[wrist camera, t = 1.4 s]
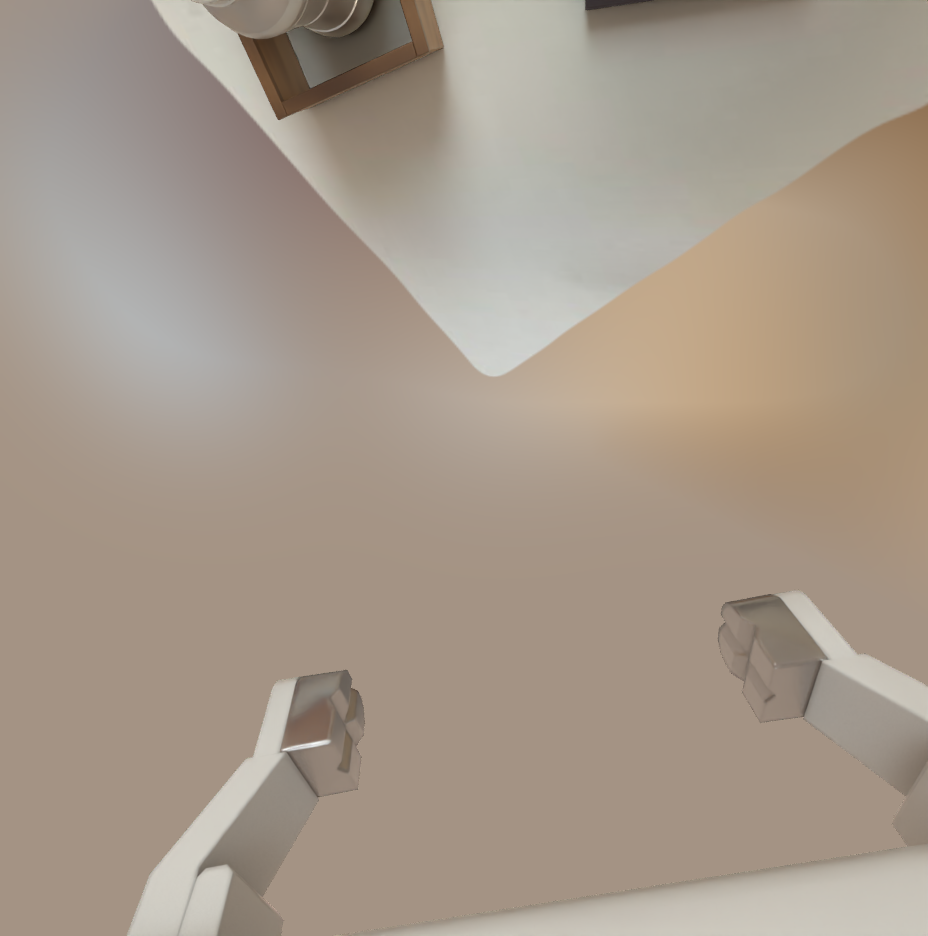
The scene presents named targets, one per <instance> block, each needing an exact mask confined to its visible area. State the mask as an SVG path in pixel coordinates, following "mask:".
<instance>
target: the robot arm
mask: <svg viewBox="0 0 928 936" xmlns="http://www.w3.org/2000/svg"><path fill="white" fill-rule="evenodd" d="M721 616H722V617H723V619H724V621H725V623H724V624H723V625H722V626H721V627H720V628H719V632H718V642H719V647H720V652H721V654H722V656H723V659H724V661H725V664H726V665H727V667H728V669H729V671H730V672H731V674H733V675H735V676H736V677H738V678H740V679H741V680H743V681H744V685H743V691H742V693H743V695H744V696H745V698H746V700H747V701H748V703H749V705H750V706H751V708H752V710H753V712H754V713H755V715H756V717H757V718H758V720H759V722H760V723H762V722H769V721H776V720H784V719H791V718H798V717H804V718H803V719H804V720H805V721H806V722H808V723H809V724H810V725H812V726H813V727H815V728H816V729H817V730H819V731H820V732H821V733H822V734H824V735H825V736H826V737H828V738H829V739H830V740H832V741H833V742H834V743H836V744H837V745H838V746H840V747H841V748H842V749H844V750H845V751H846V752H848V753H849V754H850V755H852V756H853V757H854V758H856V759H857V760H858V761H860V762H861V763H862V764H863V765H865V766H866V767H868V768H869V769H870V770H871V771H873V772H874V773H875V774H877V775H878V776H879V777H881V778H882V779H883V780H885V781H886V782H887V783H889V784H890V785H891V786H893V787H894V788H895V789H897V790H898V791H899V792H901V793H902V794H904V795H905V796H906V798H905V799H904V801H903V802H902V804H901V806H900V807H899V809H898V811H897V812H896V814H895V816H894V820H893V823H892V824H893V826H894V827H895V829H896V830H897V832H898V833H899V835H900V836H901V838H902V839H903V841H904V842H905V843H906V845H907V846H908V847H901V848H895V849H889V850H882V851H876V852H869V853H863V854H856V855H850V856H844V857H837V858H831V859H824V860H819V861H811V862H806V863H799V864H792V865H786V866H780V867H773V868H766V869H760V870H754V871H748V872H741V873H734V874H728V875H721V876H715V877H709V878H702V879H696V880H690V881H683V882H676V883H670V884H663V885H657V886H650V887H644V888H638V889H631V890H625V891H618V892H612V893H606V894H599V895H594V896H586V897H580V898H573V899H567V900H560V901H554V902H548V903H541V904H535V905H529V906H522V907H515V908H509V909H502V910H496V911H490V912H483V913H477V914H471V915H464V916H458V917H452V918H445V919H438V920H432V921H426V922H419V923H414V924H407V925H400V926H393V927H387V928H381V929H374V930H368V931H361V932H355V933H348V934H342V935H336V936H928V686H927V685H926V684H924V683H922V682H920V681H918V680H916V679H914V678H912V677H910V676H908V675H906V674H904V673H903V672H900V671H899V670H897V669H895V668H893V667H891V666H889V665H887V664H885V663H883V662H881V661H879V660H877V659H875V658H873V657H871V656H869V655H867V654H857V653H856V652H855V651H854V650H853V648H852V647H851V646H850V645H849V644H848V643H847V641H846V640H845V639H844V638H843V637H842V636H841V635H840V633H839V632H838V631H837V630H836V629H835V628H834V626H833V625H831V623H830V622H829V621H828V620H827V618H826V617H825V616H824V615H823V614H822V613H821V612H820V610H819V609H818V608H817V607H816V606H815V605H814V603H813V602H812V601H811V600H810V599H809V598H808V597H807V595H806V594H805V593H803V592H801V591H800V590H794V591H789V592H783V593H778V594H773V595H772V594H768V595H763V596H758V597H752V598H747V599H743V600H737V601H731V602H727V603H725V604H724V605H723V606H722V611H721ZM351 684H352V678H351V676H350V674H349V672H348V670H343V671H336V672H329V673H323V674H317V675H310V676H303V677H296V678H291V679H284V680H278V681H277V682H276V684H275V685H274V687H273V688H272V691H271V695H270V698H269V702H268V705H267V709H266V713H265V716H264V720H263V723H262V727H261V730H260V734H259V738H258V741H257V745H256V749H255V752H254V756H253V757H251V758H247V759H246V760H245V761H244V762H243V763H242V765H240V767H239V768H238V769H237V770H236V771H235V773H234V774H233V775H232V776H231V777H230V779H229V780H228V781H227V782H226V783H225V785H224V786H223V787H222V788H221V789H220V791H219V792H218V793H217V794H216V795H215V797H214V798H213V799H212V800H211V801H210V803H209V804H208V805H207V806H206V808H205V809H204V810H203V811H202V812H201V814H200V815H199V816H198V817H197V818H196V819H195V821H194V822H193V823H192V824H191V826H190V827H189V828H188V829H187V830H186V831H185V833H184V834H183V835H182V836H181V837H180V839H179V840H178V841H177V842H176V843H175V845H174V846H173V847H172V848H171V849H170V851H169V852H168V853H167V854H166V856H165V857H164V858H163V859H162V860H161V861H160V863H159V864H158V865H157V866H156V867H155V869H154V870H153V871H152V872H151V874H150V875H149V878H148V880H147V883H146V886H145V888H144V891H143V894H142V897H141V899H140V902H139V904H138V907H137V910H136V912H135V915H134V918H133V920H132V923H131V926H130V928H129V931H128V933H127V936H281V931H282V925H283V919H282V917H281V915H280V914H279V913H278V912H277V911H276V910H275V909H274V908H273V907H272V906H271V905H270V904H269V903H268V902H267V901H266V900H265V899H264V898H263V895H264V894H265V892H266V890H267V888H268V887H269V885H270V883H271V882H272V880H273V878H274V876H275V875H276V873H277V871H278V869H279V868H280V866H281V864H282V863H283V861H284V859H285V857H286V856H287V854H288V852H289V851H290V849H291V847H292V845H293V844H294V842H295V840H296V839H297V837H298V835H299V833H300V832H301V830H302V828H303V826H304V825H305V823H306V821H307V820H308V818H309V816H310V814H311V813H312V811H313V809H314V807H315V806H316V804H317V802H318V801H319V799H318V797H322V796H327V795H333V794H338V793H343V792H348V791H353V790H358V785H359V775H360V765H361V755H360V753H359V751H358V749H357V747H356V746H357V744H358V743H359V741H360V740H361V738H362V737H363V735H364V724H365V720H364V707H363V703H362V699H361V696H360V694H359V692H358V691H357V690H355V689H352V688H351Z"/></svg>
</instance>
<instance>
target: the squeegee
mask: <svg viewBox="0 0 928 936" xmlns="http://www.w3.org/2000/svg"><path fill="white" fill-rule="evenodd" d="M645 1H652V0H586V5H585V9H586V10H591V9H598V8H604V7H611V6H618V5H625V4H632V3H638V2H645Z"/></svg>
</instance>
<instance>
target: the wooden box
mask: <svg viewBox="0 0 928 936" xmlns="http://www.w3.org/2000/svg"><path fill="white" fill-rule="evenodd" d="M400 2H401V6H402V9H403V12H404V15H405V18H406V22H407V25H408V28H409V31H410V35H411V38H412V42H410V43H407V44H405V45H403V46H401V47H399V48H397V49H395V50H392V51H390V52H388V53H386V54H384V55H382V56H380V57H377V58H375V59H373V60H371V61H369V62H367V63H364V64H362V65H360V66H358V67H356V68H354V69H352V70H349V71H347V72H345V73H343V74H341V75H339V76H337V77H334V78H332V79H330V80H328V81H326V82H324V83H322V84H319V85H317V86H315V87H313V88H311V89H310V88H309V86H308V83H307V81H306V79H305V76H304V74H303V72H302V69H301V67H300V65H299V62H298V60H297V57H296V55H295V53H294V50H293V48H292V46H291V43H290V41H289V39H288V36H287V34H286V33H284V34H281V35H278V36H276V37H272V38H267V39H254V38H249V37H245V36H243V35H241V34H239V33H238V35H239V37H240V40H241V42H242V44H243V46H244V48H245V50H246V52H247V55H248V57H249V59H250V61H251V63H252V65H253V67H254V70H255V72H256V74H257V76H258V78H259V80H260V82H261V85H262V87H263V89H264V91H265V93H266V95H267V97H268V99H269V102H270V104H271V106H272V108H273V110H274V112H275V114H276V117H277V119H278V120H281V119H283V118H285V117H287V116H290V115H292V114H294V113H296V112H299V111H302V110H305V109H308V108H311V107H313V106H315V105H318V104H320V103H322V102H324V101H327V100H329V99H331V98H333V97H335V96H338V95H340V94H342V93H344V92H346V91H349V90H351V89H353V88H355V87H358V86H360V85H362V84H364V83H366V82H369V81H371V80H373V79H375V78H377V77H380V76H382V75H384V74H386V73H389V72H391V71H393V70H395V69H397V68H400V67H402V66H404V65H406V64H408V63H411V62H413V61H415V60H417V59H420V58H422V57H424V56H426V55H428V54H431V53H433V52H435V51H437V50H439V49H442V48H443V47H444V46H443V42H442V39H441V35H440V32H439V28H438V25H437V21H436V18H435V14H434V10H433V7H432V3H431V0H400Z"/></svg>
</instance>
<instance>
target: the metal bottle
mask: <svg viewBox="0 0 928 936" xmlns="http://www.w3.org/2000/svg"><path fill="white" fill-rule="evenodd" d="M191 1H194V2H196V3H201V4H203V5H204V6H205V8H206V9H207V10H208V11H209V12H210V13H211V14H212V15H213V16H214V17H215V18H216V19H217V20H219V21H220V22H221V23H223V24H224V25H226V26H227V27H229V28H230V29H231V30H233V31H234V32H236V33H239V34H241V35H243V36H245V37H249V38H254V39H267V38H272V37H276V36H278V35H281V34H284V33H286V32H288V31H290V30H291V29H293V28H296V27H301V26H303V27H306V28H308V29H309V30H311V31H314V32H316V33H318V34H321V35H323V36H328V37H342V36H345V35H348V34H350V33H351V32H353V31H354V30H356V29H357V28H358V27H359V26H360V25H361V24H362V23H363V22H364V21H365V20H366V18H367V16H368V15H369V13H370V10H371V8H372V5H373V1H374V0H191Z"/></svg>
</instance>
